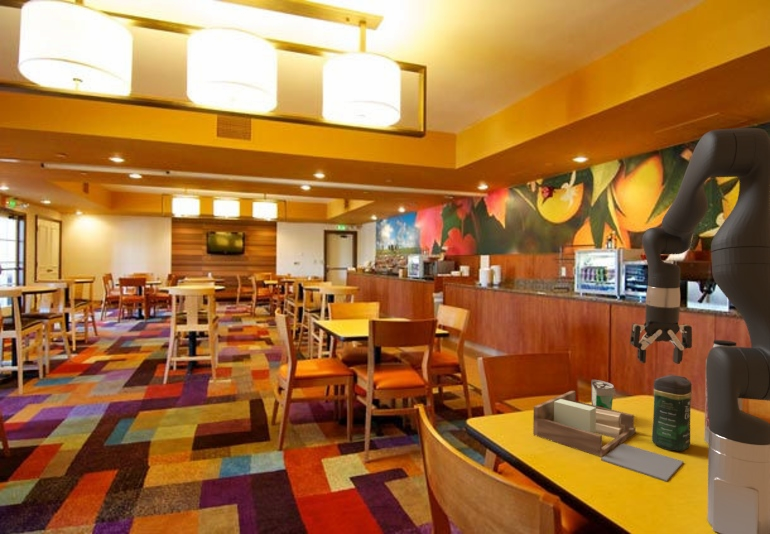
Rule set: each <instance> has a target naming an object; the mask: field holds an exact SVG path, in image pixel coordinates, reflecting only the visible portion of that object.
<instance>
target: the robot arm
mask: <svg viewBox="0 0 770 534" xmlns="http://www.w3.org/2000/svg"><path fill="white" fill-rule="evenodd" d="M710 178H738V182H739V183H738V184H739V187H738V197H737V200H736V202H735V205H734V207H733V208H732V210H731V212H729V215H728V216H727V217H726V218H725V220H724V221H723V222H722V224H721V226H720V227H719V228H718V230H717V231H716V233H715V234H714V236H713V238H712V241H711V243H710V255H711V256H710V258H711V275H712V277H713V278H712V279H713V280H714V282H715V284H716V285H717V287H718V288H719V289H720V291H721V292H722V293H723V295H724V296H725V297H726V298H727V299H728V300H729V303H731V304H732V306H734V307H735V309H736V310H737V312H738V313H739V315H740V316H741V317H742V319H743V321H744V323H745V325H746V327H747V332H748V335H749V339H750V347H746V346H735V347H731V346H716V347H714V348H713V347H712V348H711V349H710V350H709V352H708V354H707V356H706V360H707V361H706V360H705V380H706V379H707V408H708V416H709V444H708V450H707V451H708V461H707V462H708V465H707V467H708V468H707V469H708V470H707V522H708V524H709V525H711V528H712V531H713V532H716V533H719V534H770V422H768V421H767V420H765V419H763V418H761V417H758V416H757V415H753V414H750V413H747V412H745V411H743V409H742V410H740V409H739V405H738V398H743V400H744V399H747V400H754V401H755V400H757V401H767V402H768V401H770V135H769V132H767V131H766V130H765V129H763V128H759V127H757V128H756V127H747V128H745V127H744V128H742V127H741V128H723V129H721V128H719V129H714V130H713V129H712V130H710V131H708V132H706V133H704V135H702V136H701V138H700V139H699V141H698V142H697V143H696V145H695V148H694V150H693V152H692V155H691V157H690V160H689V162H688V165H687V168H686V170H685V173H684V176H683V179H682V181H681V183H680V186H679V189H678V191H677V193H676V197H675V198H674V200H673V201H672V202H671V205H670V207H668V209H667V211H666V212H665V214H664V216H663V217H662V220H661V226H662V227H660V226H659V227H658V226H657V227H656V226H655V227H650V228H647V229H646V231H644V233H643V236H642V238H641V239H642V241H641V242H642V247H643V251H644V254H645V258H646V264H647V269H648V279H647V282H648V283H647V290H646V294H645V295H646V296H645V317H644V324H637V323H632V324H631V331H630V341H629V344H630V345H631V346H632V347H634V348H636V349H637V354H636V358H637V360H638V361H639V362H640V363H642V364H646V360H647V350H646V349H647V348H648V347H649V346H650V345H651V344H653V343H654V342H669V341H670V342H671V344H672V345H673V346H674V348H673V352H672V353H673V354H672V362H673V363H675V365H679V364H681V362H682V361H683V356H684V355H683V354H684V350H685V349H691V348H692V347H693V327H692V326H691V325H688V324H686V323H683V324H680V325H679V321H680V307H681V289H680V286H681V267H680V266H679V265H678V264H676V263H670V262H666V261H663V259H662V256H661V255H681V254H683V253H686V252H688V251H689V249H690V248H691V245H692V239H693V235H694V232H695V229H696V228H697V227H698V225H699V224H700V222H701V221H702V220H703V219H704V218H705V216H706V214H707V212H708V208H709V201H708V197H707V194H706V192H705V187H704V184H705V182H706V181H707V180H708V179H710ZM643 331H644V332H645V333H644V334H643V336H641V333H642V332H643ZM679 331H680V333H681V341H680V339H679V338H678V336H677V334H678V333H679ZM640 337H641V338H640Z"/></svg>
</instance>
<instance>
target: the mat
mask: <svg viewBox="0 0 770 534" xmlns="http://www.w3.org/2000/svg"><path fill="white" fill-rule="evenodd" d="M600 461H602V462H606V463H608V464H612V465H614V466H616V467H617V466H618V467H620V468H624V469H627V470H630V471H633V472H636V473H638V474H642V475H645V476H649V477H651V478H654V479H657V480H660V481H664V482H666V483H667V482H668V481H669V480H670V479H671V477H672V476H673V475H674V474H675V473H676V472H677V471H678V470H679V468H681V466H683V464H684V460H680V459H679V458H678V459H677V458H674V457H671V456H667V455H663V454H661V453H660V454H659V453H656V452H655V451H654V452H653V451H650V450H646V449H643V448H640V447H636V446H632V445H630V444H626V443H623V442H622V443H621V444H620V445H618V446H617V447H616V448H614V449H613V450H611V451H610V452H609V453H607V454H606V455H605V456H603V457H600Z"/></svg>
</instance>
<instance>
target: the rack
mask: <svg viewBox="0 0 770 534" xmlns="http://www.w3.org/2000/svg"><path fill="white" fill-rule="evenodd" d="M576 395H577V394H576V391H575V390H570V391H567V392H566V393H565V392H564V393H563V394H560V395H558V396H556V397H554V398H551V399H548V400H546V401H544V402H542V403H539V404H537V405H534V406H533V418H532V419H533V420H532V421H533V423H532V424H533V426H532V427H533V429H532V433H533V434H534V435H533V434H532V435H533V436H535V435H537V436H536V437H538V436H539V438H541V437H543V438H542V439H544V438H546V439H545V440H547V439H549V440H548V441H550V440H552V441H551V442H554V441H555V442H554V443H557V442H558V443H557V444H559V445H563V446H566V447H569V448H573V449H576V450H578V451H582V452H585V453H587V454H588V453H589V454H591V455H594V456H598V457H600V458H602V457H604V456H605V455H606V454H608V453H609V452H610V451H612V450H613V449H614V448H616V447H617V446H619V445H620V444H621V443H623V442H625V441H626V440H628V439H629V438H631V437H632V436H633V435H635V434H636V432H637V431H636V426H635V427H634V419H635V418H634V416H635V415H634V414H631V413H627V412H623V411H618V410H616V409H615V410H614V409H612V410H611V409H607V408H603V407H599V406H595V405H592V404H590V403H586V402H581V401H579V400H578V401H577V400H576ZM559 399H563V400H567V401H572V402H576V403H580V404H584V405H588V406H592V407H596V409H601V410H606V411H611V412H617V413H621V424H622V425H625V432H623V433H622V434H621V435H619V436H618V437H616V438H613V439H611V441H609V442H608V443H606V444H605V445H603V443H602V442H603V439H602V438H603V435H602V434H598V433H596V434H595V433H592V432H588V431H585V430H581V429H578V428H574V427H571V426H568V425H564V424H561V423H557V422H554V401H557V400H559Z"/></svg>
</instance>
